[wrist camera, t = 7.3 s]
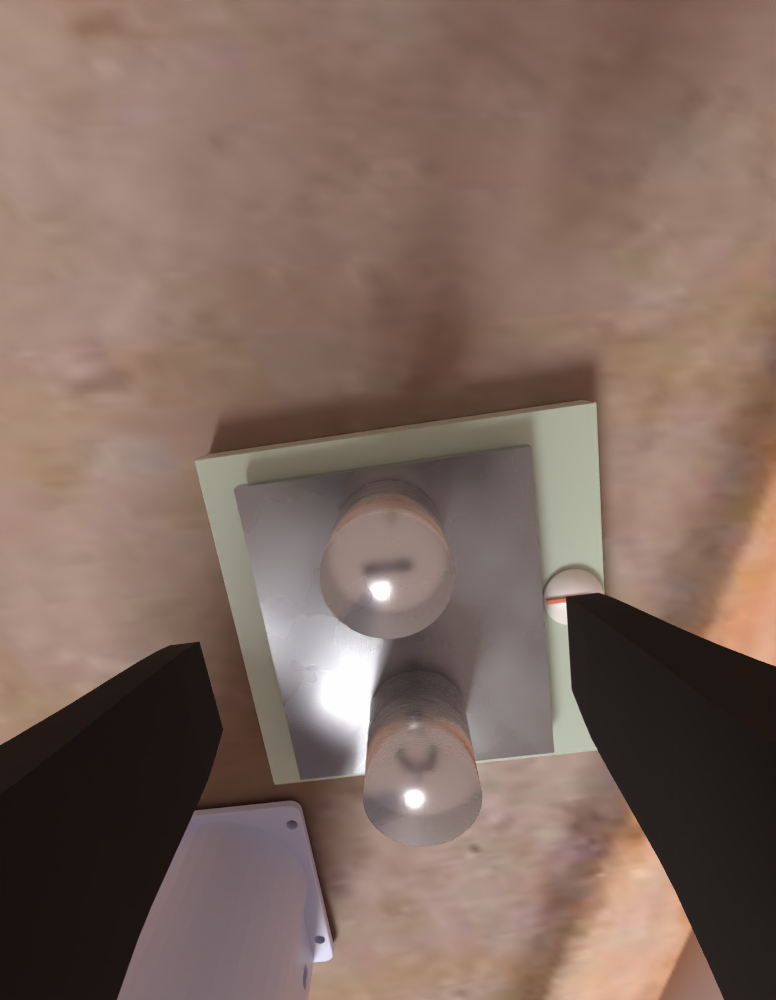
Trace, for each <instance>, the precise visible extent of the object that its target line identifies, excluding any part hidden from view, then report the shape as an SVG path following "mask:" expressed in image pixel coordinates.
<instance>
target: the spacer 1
mask: <svg viewBox="0 0 776 1000" xmlns="http://www.w3.org/2000/svg"><path fill="white" fill-rule="evenodd" d="M319 580H320V588H321V592H322V595H323V597H324V600H325V602H326V604H327V606H328V608H329V609H330V610H331V612H332V613H333V614H334V616H335V617H336V618H337V619H338V620H339V621H340V622H342V623H343V624H344V625H345V626H347V627H348V628H350V629H352V630H353V631H355V632H358V633H360V634H362V635H365V636H368V637H373V638H380V639H395V638H402V637H406V636H409V635H412V634H415V633H417V632H419V631H421V630H423V629H424V628H426V627H427V626H429V625H430V624H432V623H433V622H434V621H435V620H436V619H437V618H438V617H439V616H440V614H441V613H442V612H443V611H444V609H445V607H446V606H447V604H448V602H449V600H450V597H451V594H452V590H453V585H454V569H453V563H452V559H451V556H450V552H449V548H448V545H447V541H446V538H445V534H444V530H443V527H442V523H441V519H440V516H439V513H438V511H437V509H436V506H435V505H434V503H433V502H432V500H431V499H430V498H429V497H428V496H427V495H426V494H425V493H424V492H423V491H421V490H420V489H418V488H417V487H415V486H413V485H411V484H408V483H406V482H402V481H397V480H381V481H376V482H372V483H369V484H367V485H365V486H363V487H361V488H360V489H358V490H357V491H355V492H354V493H353V494H352V495H351V496H350V497H349V498H348V499H347V501H346V502H345V504H344V505H343V507H342V509H341V511H340V513H339V516H338V519H337V521H336V524H335V526H334V529H333V531H332V534H331V536H330V539H329V541H328V544H327V546H326V549H325V551H324V554H323V557H322V560H321V564H320V571H319Z"/></svg>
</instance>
